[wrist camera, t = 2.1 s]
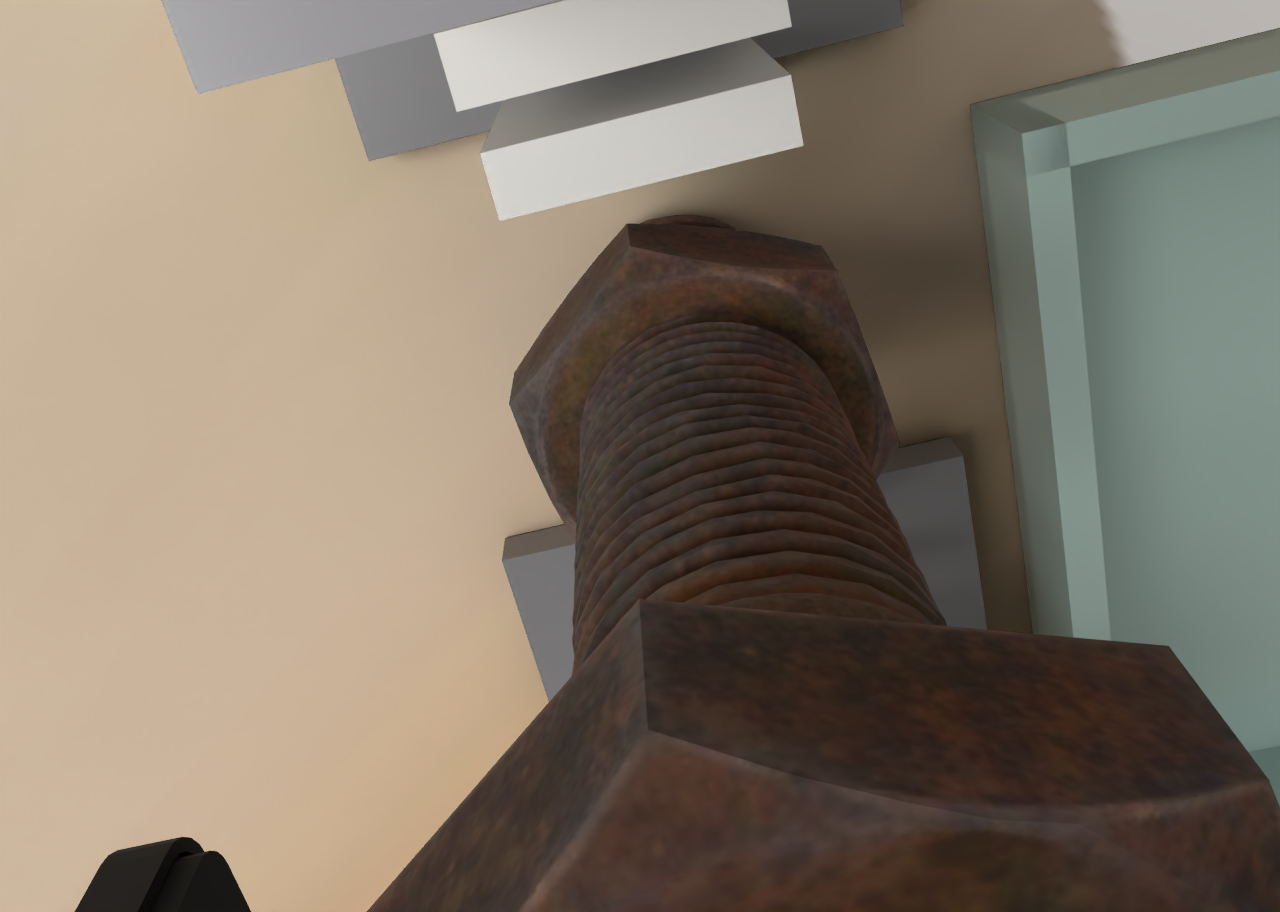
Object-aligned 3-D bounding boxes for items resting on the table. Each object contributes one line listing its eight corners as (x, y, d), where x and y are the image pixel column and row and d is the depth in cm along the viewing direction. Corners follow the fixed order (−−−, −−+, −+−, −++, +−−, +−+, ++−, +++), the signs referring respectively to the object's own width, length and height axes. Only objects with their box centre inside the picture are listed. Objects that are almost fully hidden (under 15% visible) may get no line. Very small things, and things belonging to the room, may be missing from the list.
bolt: (667, 56, 18) (886, 539, 4) (913, 252, 20) (1649, 1073, 6) (453, 350, 20) (147, 1325, 6) (692, 510, 21) (862, 1588, 8)
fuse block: (172, -475, 15) (-834, -1356, 4) (793, -657, 15) (1333, -2158, 4) (614, 869, 25) (628, 1609, 14) (1000, 789, 24) (1320, 1494, 14)
